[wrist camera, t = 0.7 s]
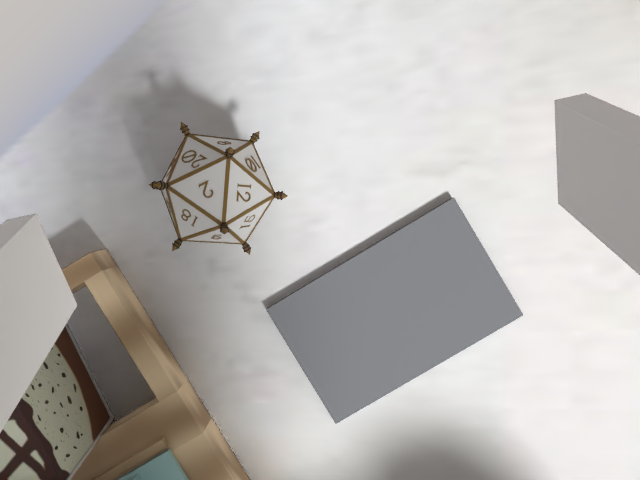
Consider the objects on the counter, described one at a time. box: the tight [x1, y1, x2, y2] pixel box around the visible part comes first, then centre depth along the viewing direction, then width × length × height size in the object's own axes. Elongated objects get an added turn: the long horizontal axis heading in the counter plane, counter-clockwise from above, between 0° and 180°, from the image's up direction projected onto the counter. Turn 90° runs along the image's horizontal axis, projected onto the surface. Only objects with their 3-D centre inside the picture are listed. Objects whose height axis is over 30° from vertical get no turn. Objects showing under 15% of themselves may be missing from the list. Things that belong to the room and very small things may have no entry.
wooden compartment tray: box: [62, 249, 250, 480], centre depth 43 cm, size 24×18×4 cm
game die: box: [149, 122, 287, 254], centre depth 40 cm, size 9×8×10 cm
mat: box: [266, 198, 523, 423], centre depth 44 cm, size 10×16×1 cm, turn 121°
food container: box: [0, 323, 114, 480], centre depth 40 cm, size 12×6×10 cm, turn 25°
